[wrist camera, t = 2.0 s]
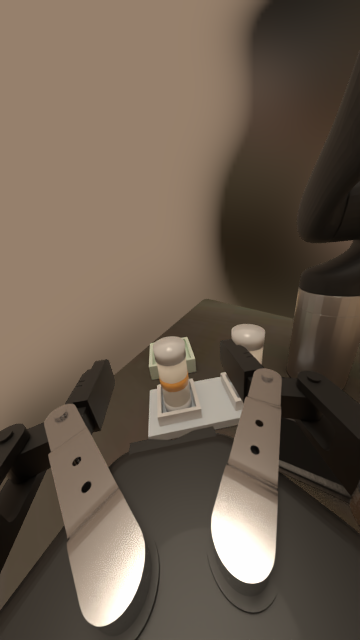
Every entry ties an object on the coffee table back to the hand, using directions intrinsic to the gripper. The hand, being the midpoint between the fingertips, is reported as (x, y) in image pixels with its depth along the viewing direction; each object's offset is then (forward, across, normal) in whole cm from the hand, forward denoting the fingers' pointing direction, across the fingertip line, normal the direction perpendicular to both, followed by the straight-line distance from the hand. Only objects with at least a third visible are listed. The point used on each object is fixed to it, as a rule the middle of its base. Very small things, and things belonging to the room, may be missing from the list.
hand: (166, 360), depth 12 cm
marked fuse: (+11, 0, +17) cm, 21 cm away
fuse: (+11, -12, +17) cm, 24 cm away
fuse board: (+11, -6, +19) cm, 23 cm away
